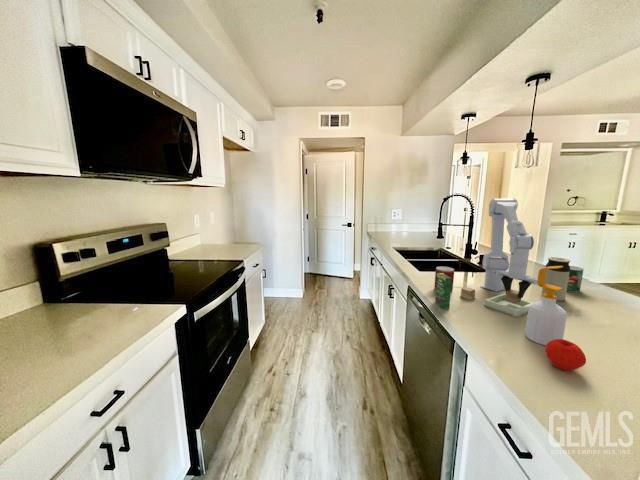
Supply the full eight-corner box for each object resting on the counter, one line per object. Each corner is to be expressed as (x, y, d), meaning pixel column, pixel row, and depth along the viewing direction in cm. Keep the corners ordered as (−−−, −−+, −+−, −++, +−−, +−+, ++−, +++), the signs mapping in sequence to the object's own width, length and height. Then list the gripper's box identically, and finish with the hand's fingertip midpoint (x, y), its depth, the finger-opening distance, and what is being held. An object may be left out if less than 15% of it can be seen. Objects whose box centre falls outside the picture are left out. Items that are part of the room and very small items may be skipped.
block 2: (509, 298, 111) (511, 289, 110) (520, 301, 107) (521, 292, 107) (504, 300, 109) (505, 291, 108) (515, 303, 105) (516, 294, 105)
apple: (592, 376, 67) (597, 350, 65) (563, 378, 66) (568, 351, 65) (561, 357, 74) (565, 333, 73) (535, 358, 74) (539, 334, 73)
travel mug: (545, 299, 115) (551, 260, 112) (538, 293, 123) (544, 256, 120) (568, 302, 112) (575, 261, 109) (559, 295, 120) (566, 257, 117)
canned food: (455, 293, 123) (457, 270, 121) (438, 293, 123) (440, 270, 121) (447, 287, 131) (449, 266, 129) (431, 287, 131) (433, 266, 129)
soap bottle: (553, 350, 78) (566, 271, 74) (519, 336, 86) (529, 263, 81) (567, 342, 82) (580, 267, 78) (533, 329, 90) (543, 260, 86)
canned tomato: (577, 288, 129) (581, 267, 127) (582, 293, 123) (586, 270, 121) (556, 285, 133) (559, 264, 131) (559, 290, 127) (563, 268, 125)
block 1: (466, 295, 121) (466, 286, 120) (474, 297, 118) (475, 289, 117) (460, 296, 119) (461, 288, 118) (469, 299, 116) (470, 291, 115)
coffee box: (434, 301, 114) (436, 272, 112) (440, 301, 114) (443, 272, 112) (442, 309, 106) (445, 278, 104) (449, 309, 106) (452, 278, 104)
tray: (502, 299, 116) (503, 293, 115) (534, 309, 105) (535, 303, 105) (484, 305, 109) (484, 299, 109) (516, 317, 99) (517, 310, 98)
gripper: (493, 261, 110) (490, 292, 112) (534, 270, 97) (529, 304, 100) (502, 259, 113) (499, 289, 116) (543, 267, 101) (538, 300, 103)
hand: (514, 296), depth 108 cm, fingers open, 4 cm apart
